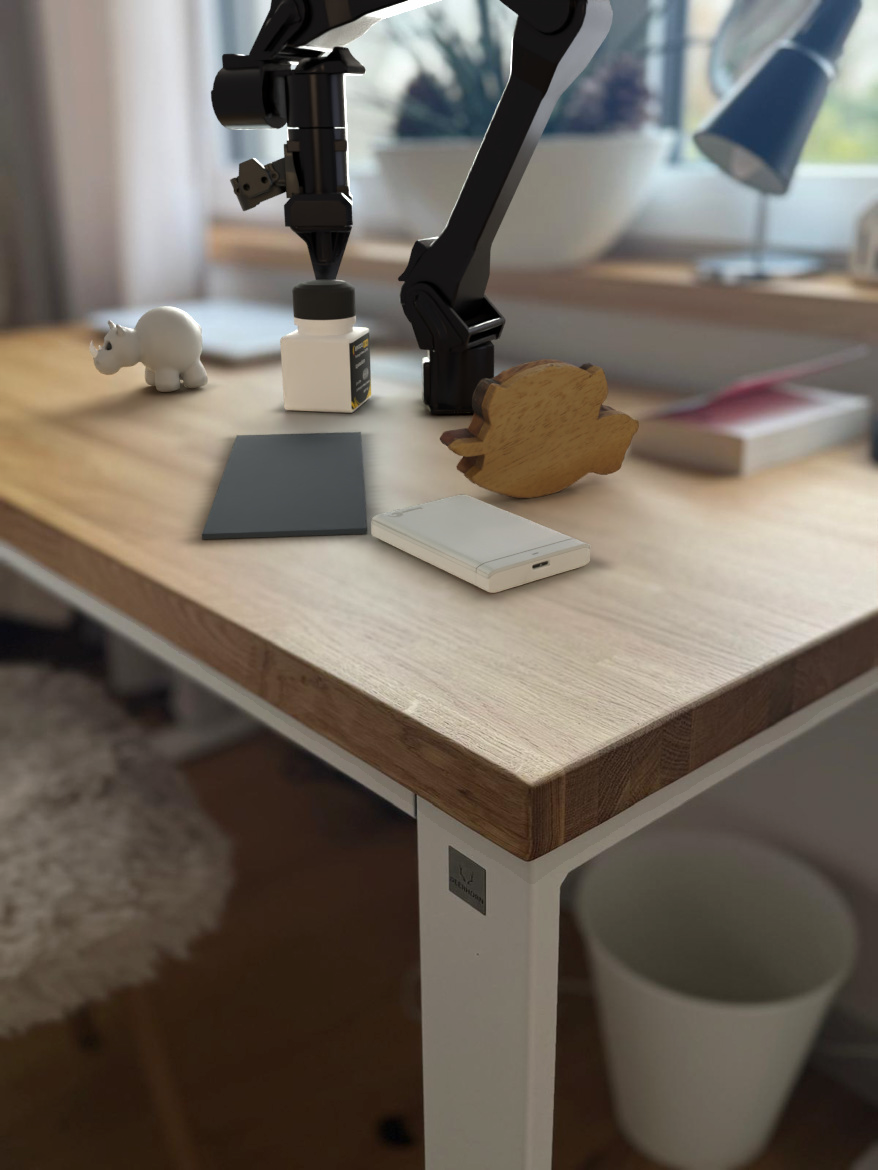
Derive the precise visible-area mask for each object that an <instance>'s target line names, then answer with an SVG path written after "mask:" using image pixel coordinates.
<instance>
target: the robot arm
mask: <svg viewBox="0 0 878 1170" xmlns="http://www.w3.org/2000/svg"><path fill="white" fill-rule="evenodd" d="M439 1H441V0H271V1H270V7H269V11H268V12H267V15H266V17H265V19H264V21H263V22H262V25H261V27H260V30H259V32H258V34H257V36H256V38H255V40H254V42H253V44H252V46H251V48H250V51H249V53H248V54H242V53H241V54H239V53H222V55H221V61H222V68H220V69H219V70H218V72H216V75H215V77H214V80H213V84H212V89H211V90H210V98H211V99H210V100H211V105H212V109H213V112H214V115H215V117H216V119H217V121H218V122H219V123H220V125H221V126H222V127H224V128H225V129H227V130H231V131H233V130H235V131H236V130H237V131H239V130H243V131H244V130H245V131H247V130H279V129H280V130H281V129H282V128H283V127H284V126H285V125H286V131H287V140H286V143H283V157H281V158H279V159H277V160H274V161H271V162H269V163H267V164H265V165H263V163H261V162H260V161H259V160H258V159H257V158H255V157H252V158H249V159H247V160H245V161H243V162H239V164H238V175H237V176H235V177H232V178H230V179H229V182H230V185H231V187H232V189H233V194H235V196H236V198H237V200H238V203H239V205H240V207H241V210H242V212H246V211H249V210H251V209H254V208H256V207H257V206H259V205H260V204H261V203H263V202H265V201H268V200H270V199H273V198H275V197H277V196H280V195H282V194H285V195H286V197H285V199H288V200H287V201H286V202H285V203H284V204H283V214H284V215H283V216H284V227H285V228H290V230H291V231H292V232H294V234H295V235H297V236H298V237H299V238H300V239H301V240H303V242H304V243H305V244H306V247H307V251H308V254H309V255H308V256H309V258H310V263H311V267H312V271H313V275H314V278H315V279H314V280H337V277H338V274H339V270H340V267H341V263H342V261H343V258H344V254H345V252H346V248H347V245H348V241H349V239H350V237H351V236H350V235H351V232H352V229H353V226H354V218H353V214H354V212H353V211H354V209H353V208H354V207H353V195H352V194H351V192H350V174H349V173H350V172H349V142H348V122H347V121H348V120H347V118H348V117H347V96H346V95H347V94H346V77H348V76H364V75H365V74H366V71H367V69H366V67H365V66H364V65H363V64H362V63H361V62H360V61H359V60H358V59H356V58H355V56H353V54H352V52H351V50H350V49H349V48H348V47H345V46H346V45H349V44H350V43H352V42H354V41H356V40H357V39H360V37H362V36H364V35H365V34H366V33H367V32H368V31H369V30H370V28H372V26H374V25H375V24H377V23H379V22H381V21H382V20H384V19H386V18H391V17H393V16H397V15H399V14H402V13H405V12H408V11H411V10H415V9H417V8H421V7H424V6H427V5H430V4H434V3H437V2H439ZM499 2H500V3H501V4H503V5H504V6H506V7H507V8H509V10H511V11H512V12H513V13H514V14H516V15H517V17H516V20H515V21H516V22H515V25H514V29H513V32H512V37H511V52H510V53H511V54H510V71H509V77H508V80H507V82H506V85H505V88H504V90H503V92H502V95H501V96H500V100H499V102H498V104H497V105H496V108H495V111H494V113H493V115H492V117H491V119H490V122H489V125H488V127H487V129H486V132H485V134H484V135H483V136H484V137H483V139H482V141H481V144H480V146H479V149H478V151H477V153H476V156H475V158H474V160H473V163H472V165H471V167H470V169H469V170H468V174H467V176H466V178H465V180H464V182H463V186H462V188H461V190H460V193H459V195H458V198H457V200H456V202H455V205H454V206H453V209H452V211H451V213H450V216H449V218H448V220H447V222H446V225H445V227H444V229H443V230H442V231H441V233H440V234H439V235H438V236H435V237H428V238H423V239H418V240H415V242H414V244H413V246H412V248H411V251H410V254H409V259H408V263H407V266H406V267H405V269H404V271H403V272H402V273H401V274H400V275H399V276H398V278H397V280H398V282H403V283H402V285H401V287H400V291H399V304H400V305H401V308H402V311H403V314H404V316H405V317H406V319H407V321H408V322H409V323H410V325H411V327H412V331H413V333H414V337H415V339H416V342H417V346H418V349H420V350H423V351H426V352H427V353H426V354H427V355H426V357H422V359H421V399H422V403H423V404H424V405H425V406H427V409H428V411H429V414H430V415H451V414H455V415H456V414H474V410H473V408H472V397H473V393H474V391H475V389H476V387H477V385H478V383H479V382H480V381H481V380H482V379H484V378H487V379H491V378H493V377H495V344H494V343H493V342H492V341H494V340H495V341H496V340H499V339H501V336H502V333H503V331H504V327H505V324H506V318H505V317H504V315H503V314H502V312H500V310H499V309H498V308H497V307H496V306H495V304H494V303H493V302H492V301H491V300H490V299H489V297H488V296H487V295H486V294H485V293H486V289H487V287H488V282H489V279H490V275H491V253H492V252H491V251H492V245H493V242H494V241H495V238H496V236H497V234H498V231H499V229H500V227H501V225H502V224H503V223H502V222H503V220H504V219H505V216H506V214H507V212H508V210H509V207H510V205H511V203H512V201H513V198H514V196H515V194H516V192H517V190H518V188H519V185H520V184H521V181H522V179H523V178H524V177H523V176H524V175H525V173H526V170H527V168H528V166H529V163H530V161H531V159H532V157H533V155H534V153H535V151H536V148H537V146H538V143H539V142H540V139H541V137H542V135H543V133H544V131H545V128H546V127H547V124H548V122H549V120H550V118H551V115H552V113H553V111H554V109H555V108H556V107H555V106H556V105H557V102H558V100H559V99H560V97H561V96H562V94H563V93H564V92H565V91H566V90H567V89H568V88H569V87H570V86H571V85H572V84H573V82H575V81H576V79H577V78H578V77H579V76H580V75H581V74H582V73H583V72H584V70H585V69H586V68H587V67H588V65H589V63H590V62H591V61H592V59H593V57H594V56H595V54H596V53H597V52H598V50H599V49H600V47H601V46H602V44H603V43H604V41H605V40H606V38H607V36H608V34H609V32H610V31H611V28H612V27H611V26H612V24H613V18H614V17H613V16H614V10H613V8H612V4H611V0H499ZM327 52H329V53H328V54H327V55H326V56H324V54H326V53H327ZM292 65H296V66H295V68H294V69H293V68H292Z"/></svg>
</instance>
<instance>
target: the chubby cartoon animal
mask: <svg viewBox="0 0 878 1170" xmlns="http://www.w3.org/2000/svg"><path fill="white" fill-rule="evenodd" d="M107 325H108V326H109V331H108V332H107V333H106V334H105V336H104V337H103V345H100V344H99V345H98V346H97V347H98V349H97V348H96V347H95V345H94V341H93V340H90V343H89V347H88V350H89V351H88V352H89V354H90V356H91V358H92V359H93V364H94V365H93V366H94V367H95V369H96V371H98V372H99V373H100V374H101V375H106V376H112V375H115V374H116V373H118V372H120V370H121V369H122V368H130V367H134V366H136V365H137V364H139V363H141V365H142V366H144V367H145V368H144V380H145V383H146V385H148V386H152V387H155V388H156V391H158V392H163V393H171V392H175V391H178V390H179V389H180V388H181V381H182V382H183V385H184V387H186V388H188V389H195V388H200V387H203V386H206V385H207V384H208V375H207V371H206V369H205V367H204V365H203V363H202V361H201V356H202V355H201V354H202V351H203V345H204V343H203V329H202V327H201V325H200V324H199V323H198V322H197V321H196V320H195V319H194V318H193V317H192V316H191V315H190V314H189V313H188V312H186V311H184V310H182V309H180V308H178V307H176V306H175V307H174V306H169V305H167V306H164V305H162V306H158V307H154V308H152V309H149V310H148V311H146V312H145V313H144V314H142V316H140V318H139V319H138V321H137V322H136V324H135V326H134V328H130V327H128V326H121V324H118V323H117V324H115V322H113V321H112V320H108V321H107Z"/></svg>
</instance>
